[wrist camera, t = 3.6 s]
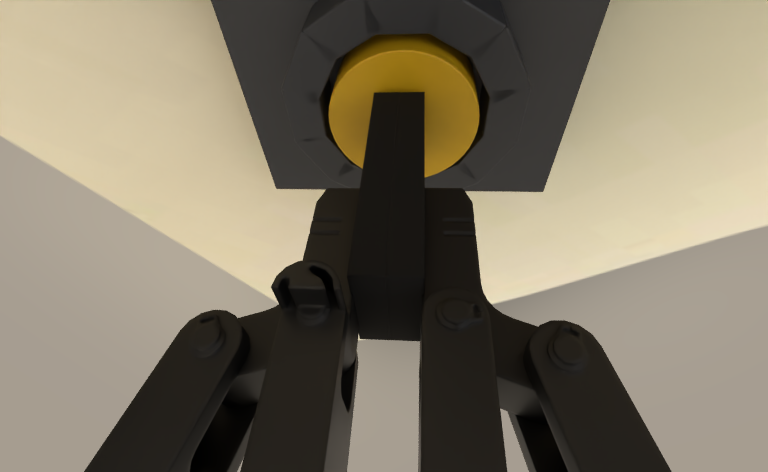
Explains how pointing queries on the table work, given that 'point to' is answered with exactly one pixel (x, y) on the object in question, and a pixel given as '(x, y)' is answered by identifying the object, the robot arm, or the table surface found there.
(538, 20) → the button housing
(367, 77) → the button
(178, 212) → the table surface
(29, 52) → the table surface
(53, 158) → the table surface
